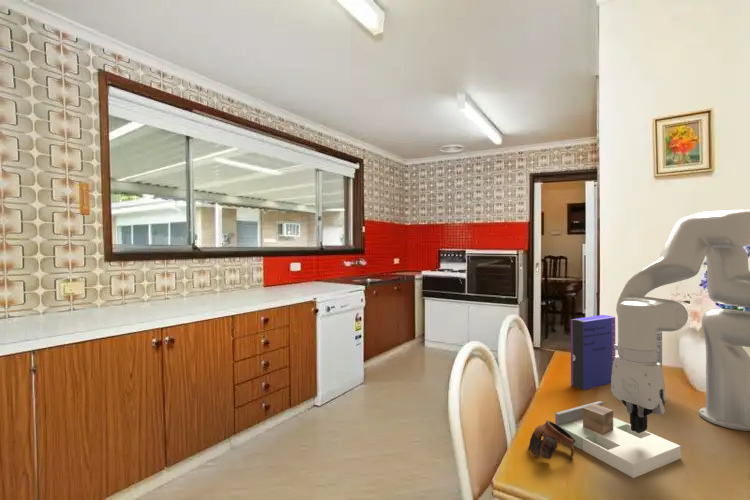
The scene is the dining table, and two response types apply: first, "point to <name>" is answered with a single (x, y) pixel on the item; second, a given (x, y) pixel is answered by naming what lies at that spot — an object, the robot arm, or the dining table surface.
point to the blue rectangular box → (592, 351)
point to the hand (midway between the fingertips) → (638, 430)
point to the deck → (619, 444)
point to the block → (598, 418)
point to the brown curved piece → (549, 440)
